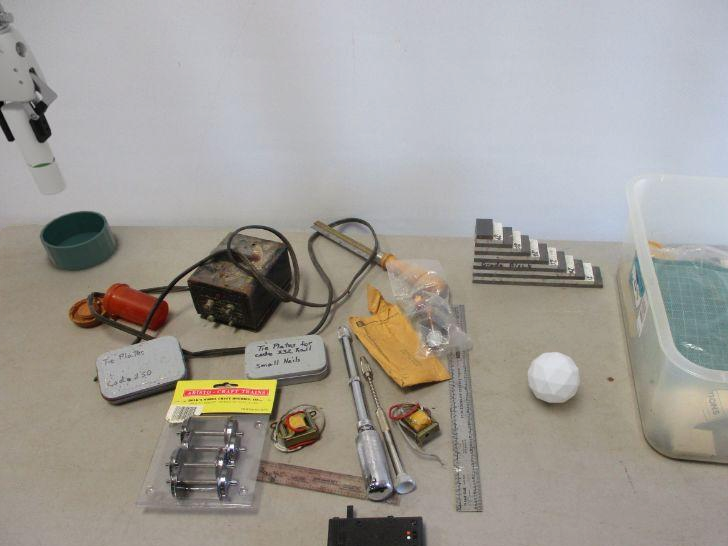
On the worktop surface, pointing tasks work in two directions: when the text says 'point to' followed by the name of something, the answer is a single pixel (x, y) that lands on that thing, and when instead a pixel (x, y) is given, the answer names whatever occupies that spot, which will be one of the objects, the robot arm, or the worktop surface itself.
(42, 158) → the tube
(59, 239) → the bowl
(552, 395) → the ball
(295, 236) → the worktop surface
